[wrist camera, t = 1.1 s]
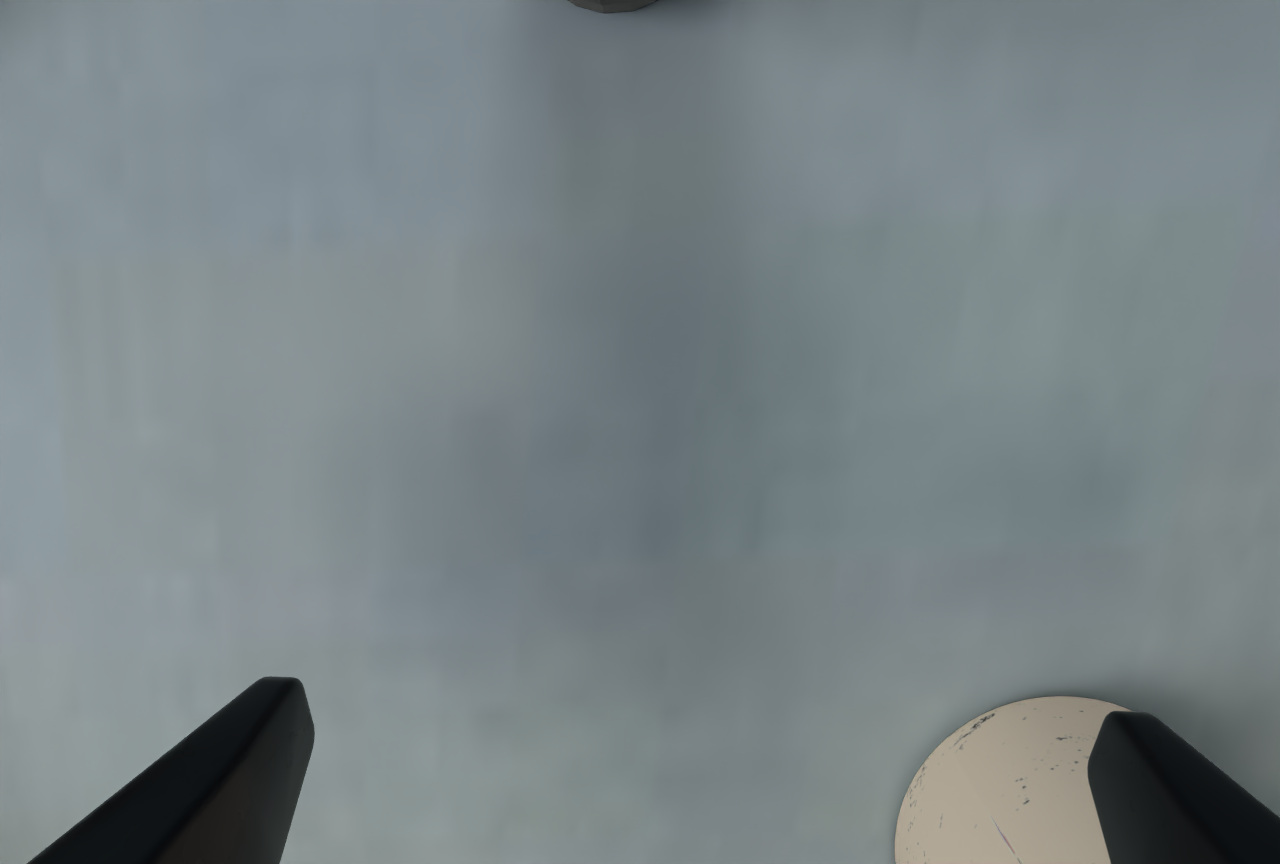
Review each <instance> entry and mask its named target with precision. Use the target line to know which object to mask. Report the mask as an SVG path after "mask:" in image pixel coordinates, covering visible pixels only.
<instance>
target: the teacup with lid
mask: <svg viewBox="0 0 1280 864" xmlns="http://www.w3.org/2000/svg"><path fill="white" fill-rule="evenodd" d="M1112 711H1131V710H1129V709H1127V708H1124V707H1121V706H1118V705H1115V704H1112V703H1108V702H1104V701H1100V700H1096V699H1089V698H1082V697H1069V696H1052V697H1040V698H1032V699H1027V700H1022V701H1018V702H1013V703H1010V704H1007V705H1004V706H1001V707H998V708H996V709H993V710H991V711H989V712H986V713H984V714H982V715H980V716H978V717H977V718H975V719H973V720H971V721H969V722H968V723H966V724H965V725H963V726H962V727H960V728H959V729H957V730H956V731H955V732H954V733H952V734H951V735H950V736H949V737H947V738H946V739H945V740H944V741H943V742H942V743H941V744H940V745H939V746H938V747H937V748H936V749H935V750H934V751H933V752H932V753H931V754H930V756H929V757H928V758H927V759H926V760H925V762H924V763H923V764H922V766H921V767H920V769H919V770H918V772H917V773H916V775H915V777H914V779H913V780H912V782H911V784H910V786H909V788H908V790H907V793H906V795H905V798H904V800H903V803H902V806H901V810H900V813H899V817H898V822H897V827H896V836H895V860H896V864H1111V862H1110V859H1109V855H1108V851H1107V848H1106V844H1105V840H1104V837H1103V833H1102V829H1101V826H1100V822H1099V818H1098V815H1097V811H1096V807H1095V804H1094V800H1093V797H1092V793H1091V789H1090V786H1089V781H1088V774H1087V766H1088V760H1089V757H1090V754H1091V751H1092V749H1093V746H1094V744H1095V741H1096V739H1097V736H1098V733H1099V731H1100V728H1101V726H1102V723H1103V720H1104V719H1105V717H1106V715H1108V714H1109V713H1110V712H1112ZM1132 712H1133V711H1132Z"/></svg>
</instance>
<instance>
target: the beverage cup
mask: <svg viewBox="0 0 1280 864" xmlns="http://www.w3.org/2000/svg"><path fill="white" fill-rule="evenodd" d="M568 1H570V2H571V3H573V4H575V5H576V6H579V7H583V8H587V9H590V10H594V11H598V12H602V13H613V12H626V11H634V10H636V9H639V8H641V7H643V6H646V5H648V4H650V3H653V2H655V1H657V0H568Z"/></svg>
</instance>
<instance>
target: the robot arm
mask: <svg viewBox="0 0 1280 864" xmlns="http://www.w3.org/2000/svg"><path fill="white" fill-rule="evenodd" d="M314 735H315V733H314V724H313V721H312V717H311V713H310V709H309V705H308V702H307V698H306V694H305V690H304V687H303V684H302V683H301V681H300V680H299V679H297V678H292V677H264V678H262V679H260V680H258V681H256V682H255V683H254V684H252V685H251V686H250V687H249V688H247V689H246V690H245V691H244V692H242V693H241V694H240V695H239V696H237V697H236V698H235V699H233V700H232V701H231V702H230V703H228V704H227V705H226V706H225V707H223V708H222V709H221V710H220V711H218V712H217V713H216V714H215V715H213V716H212V717H211V718H210V719H208V720H207V721H206V722H205V723H203V724H202V725H201V726H200V727H198V728H197V729H196V730H194V731H193V732H192V733H191V734H189V735H188V736H187V737H186V738H184V739H183V740H182V741H181V742H179V743H178V744H177V745H176V746H174V747H173V748H172V749H171V750H169V751H168V752H167V753H166V754H164V755H163V756H162V757H160V758H159V759H158V760H157V761H155V762H154V763H153V764H152V765H150V766H149V767H148V768H147V769H145V770H144V771H143V772H142V773H140V774H139V775H138V776H137V777H135V778H134V779H133V780H132V781H130V782H129V783H128V784H126V785H125V786H124V787H123V788H121V789H120V790H119V791H118V792H116V793H115V794H114V795H113V796H111V797H110V798H109V799H108V800H106V801H105V802H104V803H103V804H101V805H100V806H99V807H98V808H96V809H95V810H94V811H92V812H91V813H90V814H89V815H87V816H86V817H85V818H84V819H82V820H81V821H80V822H79V823H77V824H76V825H75V826H74V827H72V828H71V829H70V830H69V831H67V832H66V833H65V834H64V835H62V836H61V837H60V838H58V839H57V840H56V841H55V842H53V843H52V844H51V845H50V846H48V847H47V848H46V849H45V850H43V851H42V852H41V853H40V854H38V855H37V856H36V857H35V858H33V859H32V860H31V861H30V862H28V863H27V864H279V863H280V860H281V857H282V853H283V850H284V846H285V843H286V839H287V836H288V833H289V829H290V826H291V822H292V819H293V815H294V812H295V808H296V805H297V801H298V798H299V794H300V791H301V787H302V784H303V780H304V777H305V774H306V770H307V767H308V763H309V760H310V756H311V753H312V749H313V744H314ZM1087 774H1088V781H1089V786H1090V789H1091V793H1092V797H1093V800H1094V804H1095V807H1096V811H1097V815H1098V818H1099V822H1100V826H1101V829H1102V833H1103V837H1104V840H1105V844H1106V848H1107V851H1108V855H1109V859H1110V862H1111V864H1280V818H1279V817H1278V816H1277V815H1275V814H1274V813H1273V812H1272V811H1271V810H1269V809H1268V808H1267V807H1266V806H1264V805H1263V804H1262V803H1261V802H1259V801H1258V800H1257V799H1256V798H1255V797H1253V796H1252V795H1251V794H1250V793H1248V792H1247V791H1246V790H1245V789H1244V788H1242V787H1241V786H1240V785H1239V784H1237V783H1236V782H1235V781H1234V780H1232V779H1231V778H1230V777H1229V776H1228V775H1226V774H1225V773H1224V772H1223V771H1221V770H1220V769H1219V768H1218V767H1216V766H1215V765H1214V764H1213V763H1212V762H1210V761H1209V760H1208V759H1207V758H1205V757H1204V756H1203V755H1202V754H1201V753H1199V752H1198V751H1197V750H1196V749H1194V748H1193V747H1192V746H1191V745H1189V744H1188V743H1187V742H1186V741H1185V740H1183V739H1182V738H1181V737H1180V736H1178V735H1177V734H1176V733H1175V732H1173V731H1172V730H1171V729H1170V728H1169V727H1167V726H1166V725H1165V724H1164V723H1162V722H1161V721H1160V720H1159V719H1157V718H1156V717H1155V716H1153V715H1151V714H1149V713H1146V712H1132V711H1112V712H1110V713H1109V714H1108V715H1106V717H1105V719H1104V720H1103V723H1102V726H1101V728H1100V731H1099V733H1098V736H1097V739H1096V741H1095V744H1094V746H1093V749H1092V751H1091V754H1090V757H1089V760H1088V766H1087Z"/></svg>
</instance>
